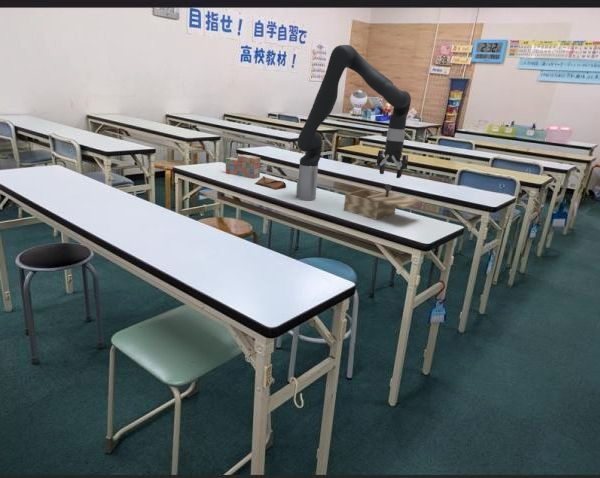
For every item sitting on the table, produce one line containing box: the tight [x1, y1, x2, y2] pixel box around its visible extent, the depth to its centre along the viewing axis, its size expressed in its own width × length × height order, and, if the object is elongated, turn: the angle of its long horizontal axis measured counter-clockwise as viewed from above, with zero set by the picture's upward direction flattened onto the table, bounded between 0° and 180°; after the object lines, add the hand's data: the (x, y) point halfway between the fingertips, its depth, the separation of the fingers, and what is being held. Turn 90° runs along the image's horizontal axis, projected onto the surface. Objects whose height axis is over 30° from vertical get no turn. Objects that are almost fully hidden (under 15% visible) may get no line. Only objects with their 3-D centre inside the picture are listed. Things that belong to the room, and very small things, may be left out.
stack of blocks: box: [225, 154, 261, 180], centre depth 263 cm, size 21×6×12 cm, turn 60°
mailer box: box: [343, 188, 397, 221], centre depth 206 cm, size 18×16×8 cm
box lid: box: [366, 184, 423, 210], centre depth 196 cm, size 19×16×7 cm
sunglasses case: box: [254, 176, 287, 191], centre depth 244 cm, size 18×7×7 cm, turn 51°
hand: (389, 176), depth 196 cm, fingers open, 8 cm apart
